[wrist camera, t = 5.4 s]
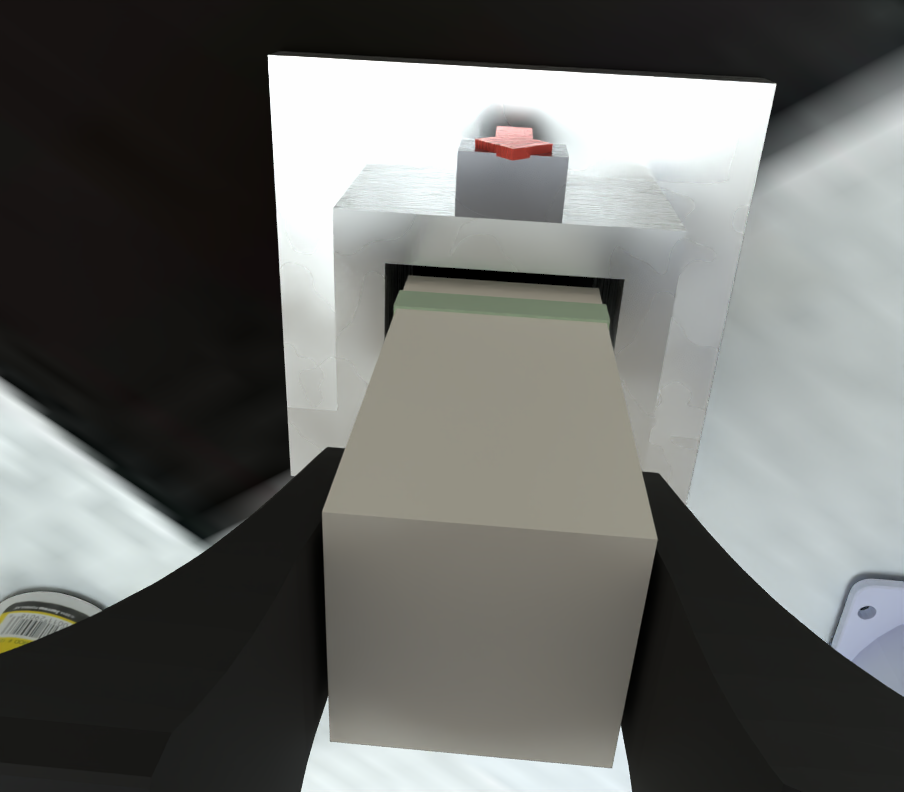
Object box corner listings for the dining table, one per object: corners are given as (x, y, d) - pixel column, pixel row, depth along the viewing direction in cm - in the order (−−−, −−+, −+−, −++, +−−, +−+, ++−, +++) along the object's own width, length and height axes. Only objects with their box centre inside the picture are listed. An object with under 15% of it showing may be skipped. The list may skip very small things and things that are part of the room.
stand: (679, 486, 24) (718, 616, 19) (299, 456, 24) (245, 576, 19) (764, 78, 19) (846, 116, 14) (279, 50, 19) (200, 79, 14)
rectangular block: (578, 453, 18) (615, 771, 11) (402, 440, 18) (326, 743, 11) (601, 286, 16) (662, 535, 9) (406, 272, 17) (317, 508, 9)
